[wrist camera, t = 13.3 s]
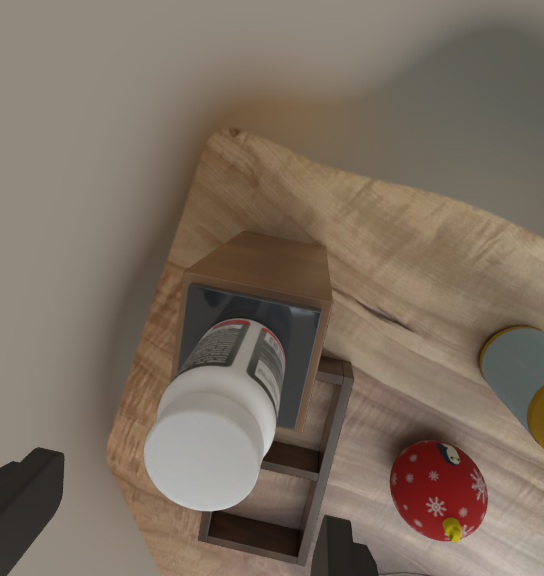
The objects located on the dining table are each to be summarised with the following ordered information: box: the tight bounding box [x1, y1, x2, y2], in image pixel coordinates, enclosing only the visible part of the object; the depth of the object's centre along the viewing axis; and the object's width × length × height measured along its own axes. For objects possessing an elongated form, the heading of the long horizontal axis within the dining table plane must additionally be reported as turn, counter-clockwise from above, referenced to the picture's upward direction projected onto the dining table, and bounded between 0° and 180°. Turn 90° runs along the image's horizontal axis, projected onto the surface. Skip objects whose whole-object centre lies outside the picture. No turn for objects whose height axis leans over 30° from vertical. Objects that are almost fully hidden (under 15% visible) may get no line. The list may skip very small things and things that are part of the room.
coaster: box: [177, 282, 322, 429], centre depth 22 cm, size 7×7×1 cm
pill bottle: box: [144, 318, 285, 511], centre depth 18 cm, size 5×5×8 cm
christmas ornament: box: [390, 440, 488, 542], centre depth 38 cm, size 9×9×10 cm
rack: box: [198, 356, 354, 566], centre depth 43 cm, size 12×23×4 cm, turn 170°
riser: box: [170, 231, 333, 432], centre depth 31 cm, size 8×8×18 cm
